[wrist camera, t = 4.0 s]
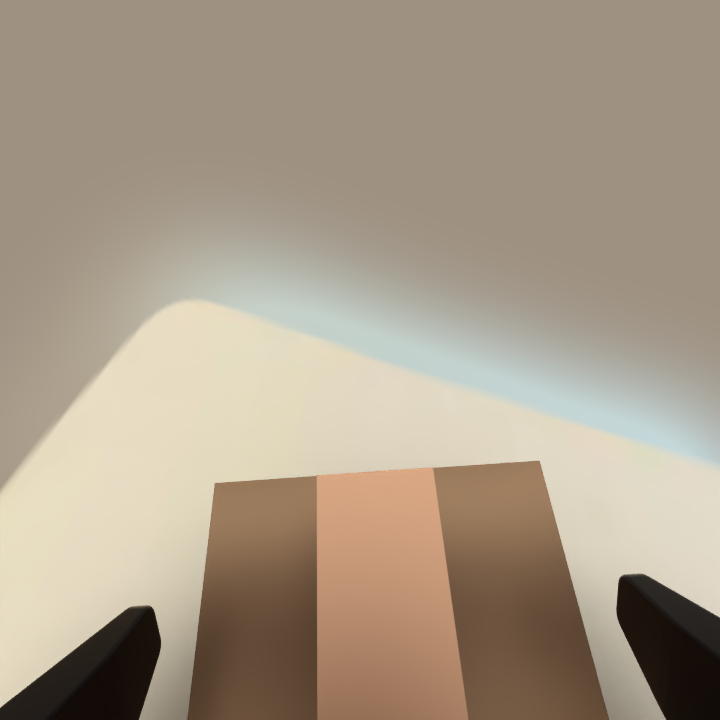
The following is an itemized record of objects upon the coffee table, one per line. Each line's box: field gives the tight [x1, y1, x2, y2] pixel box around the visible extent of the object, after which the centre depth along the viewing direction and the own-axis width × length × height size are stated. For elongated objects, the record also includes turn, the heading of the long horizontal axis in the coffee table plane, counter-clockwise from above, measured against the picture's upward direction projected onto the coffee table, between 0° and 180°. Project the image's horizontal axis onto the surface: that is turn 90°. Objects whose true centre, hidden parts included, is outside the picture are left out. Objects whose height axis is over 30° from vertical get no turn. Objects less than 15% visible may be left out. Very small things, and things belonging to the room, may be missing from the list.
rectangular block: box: [317, 468, 468, 720], centre depth 11 cm, size 4×2×10 cm, turn 3°
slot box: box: [188, 461, 609, 720], centre depth 13 cm, size 8×10×4 cm
